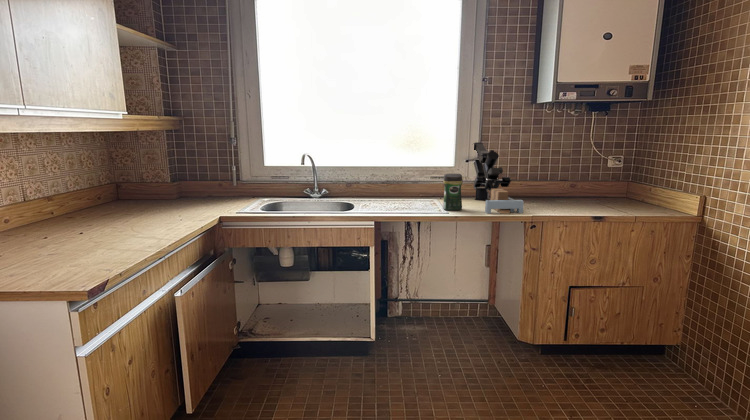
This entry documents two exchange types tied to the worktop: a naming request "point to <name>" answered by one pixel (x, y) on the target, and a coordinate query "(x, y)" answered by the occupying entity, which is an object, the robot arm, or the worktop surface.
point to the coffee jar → (452, 192)
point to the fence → (504, 205)
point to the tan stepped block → (499, 198)
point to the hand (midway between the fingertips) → (495, 194)
